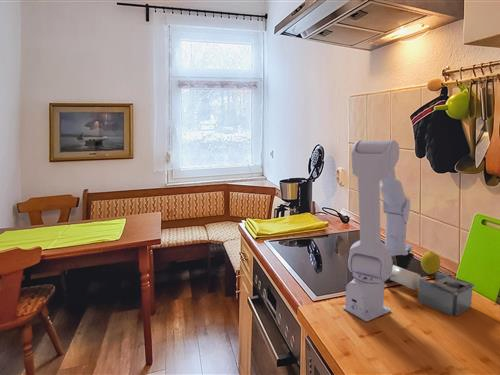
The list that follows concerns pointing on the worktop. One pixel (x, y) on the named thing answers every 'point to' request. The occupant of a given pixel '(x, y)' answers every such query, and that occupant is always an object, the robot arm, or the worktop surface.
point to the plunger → (453, 284)
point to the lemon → (430, 262)
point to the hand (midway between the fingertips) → (393, 277)
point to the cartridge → (405, 277)
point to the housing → (446, 294)
